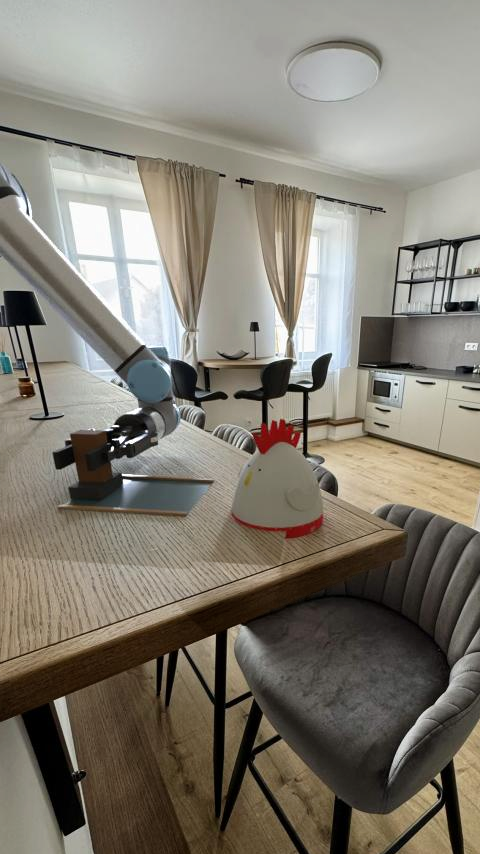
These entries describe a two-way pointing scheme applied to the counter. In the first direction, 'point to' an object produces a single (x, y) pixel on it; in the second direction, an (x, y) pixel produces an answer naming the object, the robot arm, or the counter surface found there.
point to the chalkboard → (148, 496)
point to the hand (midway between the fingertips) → (72, 461)
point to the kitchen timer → (278, 486)
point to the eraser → (91, 482)
